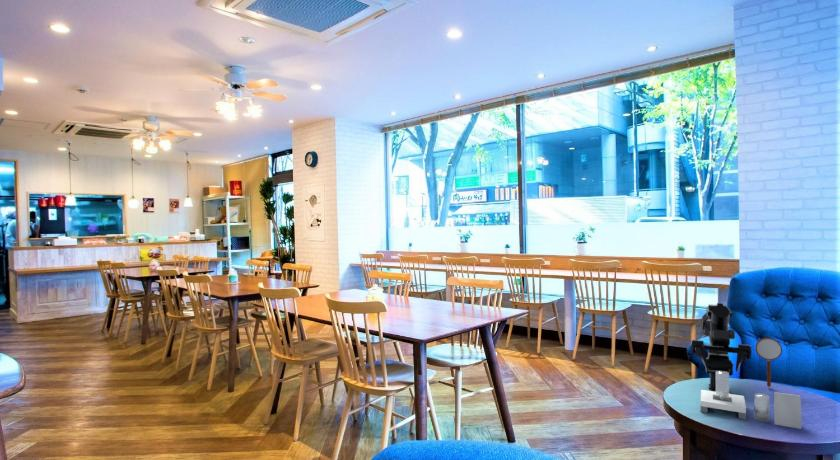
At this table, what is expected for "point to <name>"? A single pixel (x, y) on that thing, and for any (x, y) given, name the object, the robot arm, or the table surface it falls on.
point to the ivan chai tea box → (787, 410)
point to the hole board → (723, 403)
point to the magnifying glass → (768, 353)
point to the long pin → (722, 386)
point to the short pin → (761, 407)
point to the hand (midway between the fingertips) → (721, 369)
